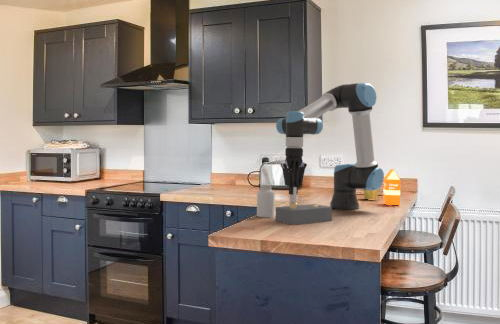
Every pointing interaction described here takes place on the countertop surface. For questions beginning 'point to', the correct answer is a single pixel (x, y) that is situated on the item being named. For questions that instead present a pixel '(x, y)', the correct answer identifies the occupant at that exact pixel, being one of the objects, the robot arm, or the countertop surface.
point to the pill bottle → (265, 201)
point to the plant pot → (371, 194)
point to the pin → (293, 205)
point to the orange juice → (391, 189)
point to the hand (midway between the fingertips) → (293, 201)
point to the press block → (303, 214)
